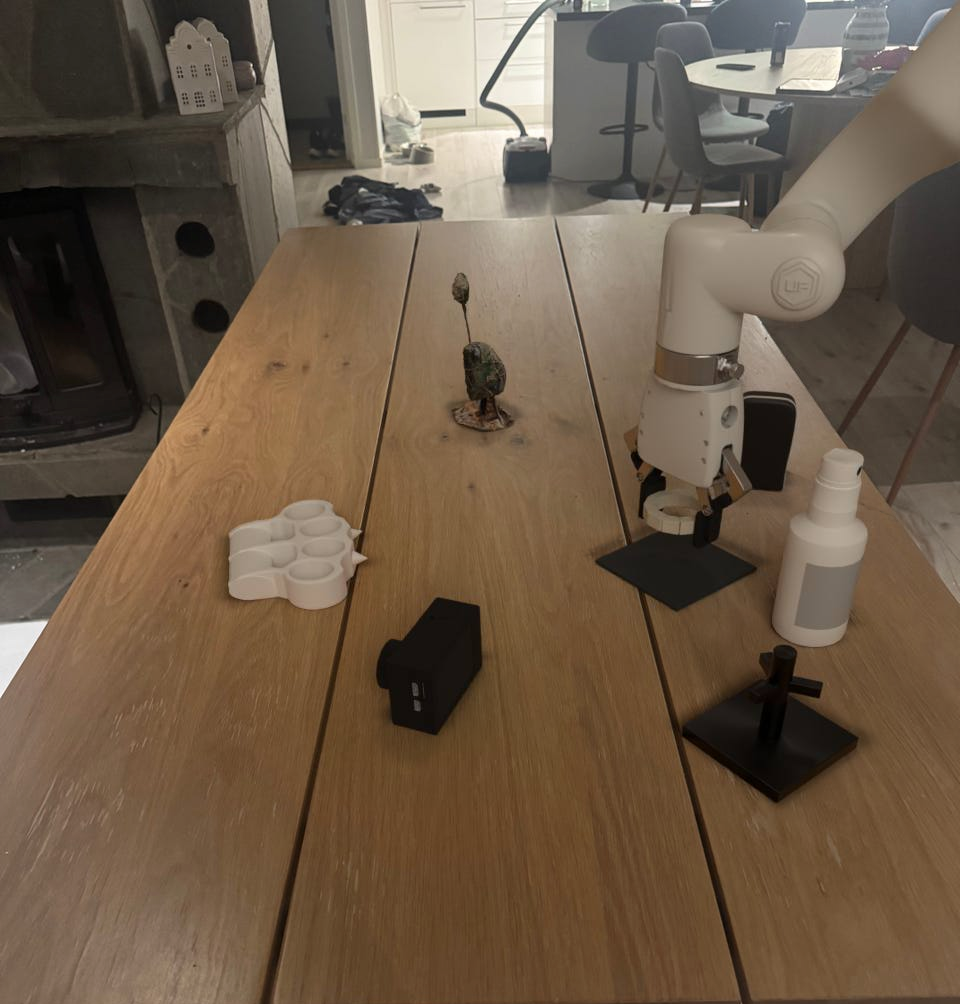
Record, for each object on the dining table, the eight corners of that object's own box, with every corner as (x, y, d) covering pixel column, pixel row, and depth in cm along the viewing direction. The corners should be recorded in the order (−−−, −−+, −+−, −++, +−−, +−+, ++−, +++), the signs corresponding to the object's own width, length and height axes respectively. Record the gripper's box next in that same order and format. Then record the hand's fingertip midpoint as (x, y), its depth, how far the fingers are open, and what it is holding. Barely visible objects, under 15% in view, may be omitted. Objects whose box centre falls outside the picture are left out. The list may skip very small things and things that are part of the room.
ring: (677, 494, 102) (678, 482, 101) (727, 519, 98) (729, 507, 97) (629, 515, 99) (630, 503, 98) (679, 542, 94) (680, 529, 94)
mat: (673, 526, 109) (673, 523, 108) (757, 570, 101) (757, 566, 100) (594, 562, 103) (595, 559, 103) (676, 611, 95) (677, 608, 95)
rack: (760, 688, 85) (776, 599, 80) (856, 748, 79) (881, 656, 73) (681, 736, 81) (692, 645, 75) (776, 804, 74) (796, 710, 68)
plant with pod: (462, 443, 128) (455, 291, 116) (449, 410, 137) (441, 266, 125) (521, 436, 129) (520, 285, 117) (504, 404, 138) (501, 260, 126)
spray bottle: (824, 658, 88) (863, 482, 78) (757, 630, 92) (786, 459, 82) (857, 624, 92) (899, 453, 82) (792, 599, 96) (824, 432, 85)
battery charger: (784, 479, 117) (800, 389, 110) (784, 493, 114) (800, 402, 107) (726, 474, 119) (737, 385, 112) (724, 488, 116) (736, 397, 109)
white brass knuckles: (233, 534, 111) (359, 518, 113) (232, 622, 96) (376, 602, 98) (227, 509, 109) (355, 493, 111) (225, 594, 94) (373, 574, 96)
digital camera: (430, 653, 91) (425, 592, 87) (482, 665, 89) (480, 603, 85) (379, 721, 83) (371, 658, 79) (436, 736, 82) (430, 671, 77)
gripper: (798, 377, 85) (767, 550, 95) (656, 328, 96) (643, 487, 107) (741, 399, 81) (716, 576, 92) (601, 345, 93) (593, 508, 103)
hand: (677, 527), depth 99 cm, fingers closed on ring, 7 cm apart
